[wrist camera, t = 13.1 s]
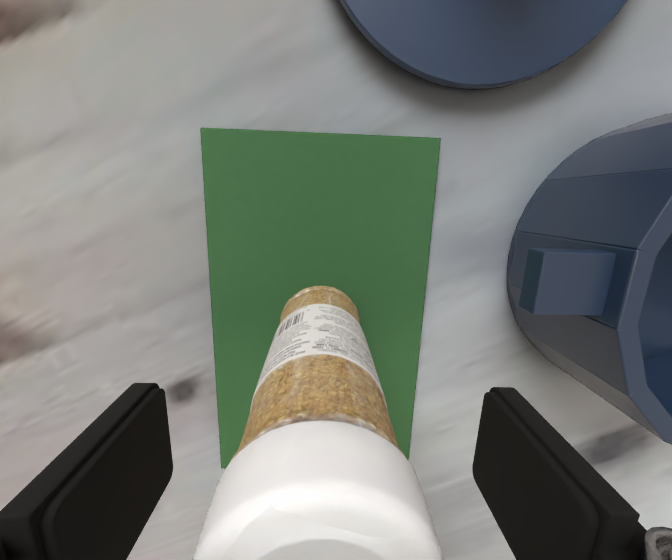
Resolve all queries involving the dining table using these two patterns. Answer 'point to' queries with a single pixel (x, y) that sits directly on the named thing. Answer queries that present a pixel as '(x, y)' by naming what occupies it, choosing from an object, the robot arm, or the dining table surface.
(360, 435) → the sprinkles bottle
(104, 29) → the dining table surface
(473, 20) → the lid
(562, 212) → the pot
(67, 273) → the dining table surface
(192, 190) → the dining table surface
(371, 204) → the green flat rectangular board
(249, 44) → the dining table surface
